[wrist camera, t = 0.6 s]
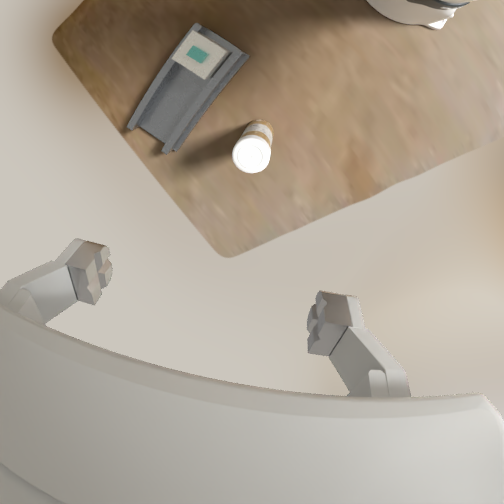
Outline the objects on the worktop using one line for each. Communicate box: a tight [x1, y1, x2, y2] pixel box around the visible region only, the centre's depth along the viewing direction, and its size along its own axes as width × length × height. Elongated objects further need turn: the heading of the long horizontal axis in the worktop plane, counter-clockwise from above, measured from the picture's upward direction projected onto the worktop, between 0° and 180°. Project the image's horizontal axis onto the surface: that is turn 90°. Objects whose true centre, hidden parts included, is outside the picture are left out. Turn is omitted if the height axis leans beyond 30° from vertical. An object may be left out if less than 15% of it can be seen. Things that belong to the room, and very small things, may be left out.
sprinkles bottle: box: [232, 120, 273, 173], centre depth 39 cm, size 5×5×14 cm
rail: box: [127, 23, 250, 155], centre depth 37 cm, size 20×10×8 cm, turn 142°
